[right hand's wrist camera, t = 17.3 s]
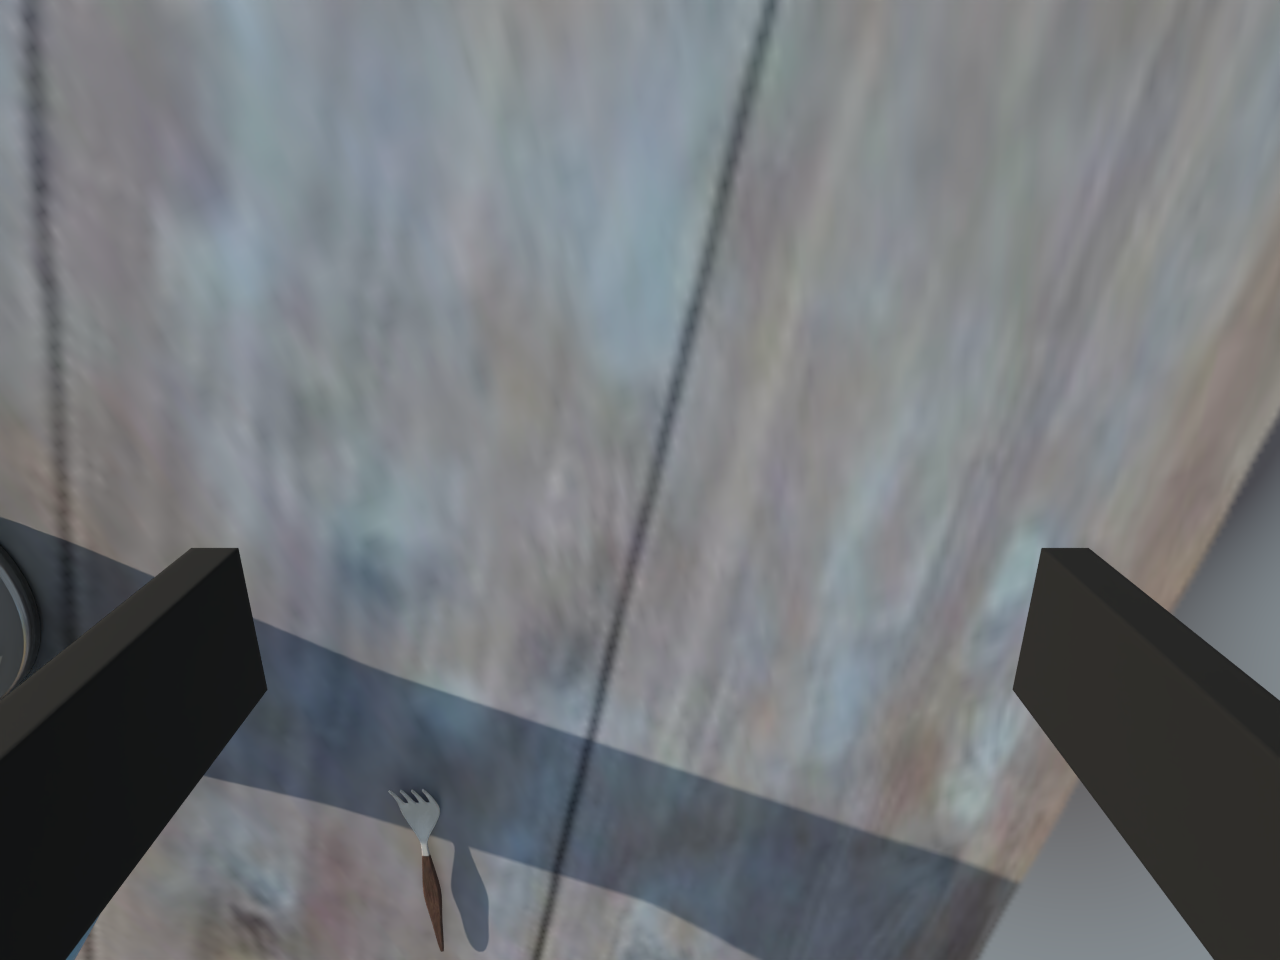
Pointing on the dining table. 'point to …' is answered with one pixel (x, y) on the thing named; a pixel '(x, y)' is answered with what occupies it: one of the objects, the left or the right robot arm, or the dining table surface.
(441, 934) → the fork
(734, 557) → the dining table surface
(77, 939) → the right robot arm
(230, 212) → the dining table surface
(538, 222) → the dining table surface
